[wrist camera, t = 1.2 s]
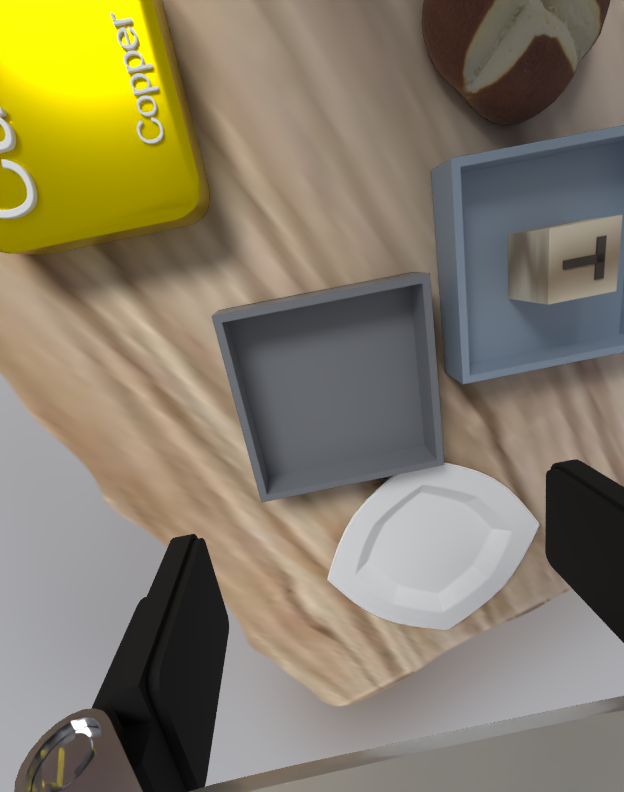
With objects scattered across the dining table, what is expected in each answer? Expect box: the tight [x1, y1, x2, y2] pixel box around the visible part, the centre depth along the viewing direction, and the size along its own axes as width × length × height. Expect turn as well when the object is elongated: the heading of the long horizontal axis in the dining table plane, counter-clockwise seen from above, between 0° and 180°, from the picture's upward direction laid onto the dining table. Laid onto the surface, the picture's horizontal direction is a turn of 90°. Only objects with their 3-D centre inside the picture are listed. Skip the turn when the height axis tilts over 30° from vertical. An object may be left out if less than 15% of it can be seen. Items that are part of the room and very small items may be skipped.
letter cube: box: [508, 215, 622, 305], centre depth 29 cm, size 5×5×5 cm
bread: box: [422, 0, 610, 124], centre depth 24 cm, size 11×11×5 cm
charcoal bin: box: [212, 272, 444, 502], centre depth 32 cm, size 16×16×4 cm
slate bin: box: [431, 125, 624, 384], centre depth 30 cm, size 16×16×4 cm
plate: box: [327, 462, 540, 630], centre depth 40 cm, size 19×19×2 cm
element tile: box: [0, 0, 210, 255], centre depth 24 cm, size 15×15×5 cm
